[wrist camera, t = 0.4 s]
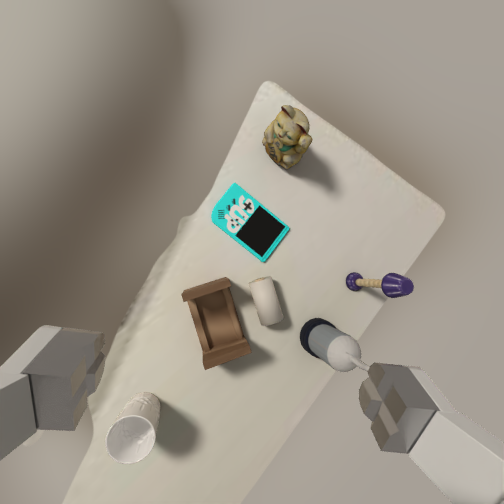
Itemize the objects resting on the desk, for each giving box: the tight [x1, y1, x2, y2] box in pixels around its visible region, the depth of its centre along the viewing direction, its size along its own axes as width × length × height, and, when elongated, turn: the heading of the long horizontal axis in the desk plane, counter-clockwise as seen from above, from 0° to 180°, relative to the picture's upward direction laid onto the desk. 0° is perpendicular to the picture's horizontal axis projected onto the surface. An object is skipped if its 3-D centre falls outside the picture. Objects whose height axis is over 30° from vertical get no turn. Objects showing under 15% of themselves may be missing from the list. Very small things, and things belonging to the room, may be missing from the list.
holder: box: [181, 277, 252, 370], centre depth 55 cm, size 14×9×8 cm, turn 17°
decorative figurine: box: [262, 105, 312, 169], centre depth 56 cm, size 10×8×15 cm
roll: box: [249, 277, 284, 326], centre depth 59 cm, size 10×5×5 cm, turn 17°
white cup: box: [105, 392, 161, 464], centre depth 51 cm, size 8×8×10 cm
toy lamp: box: [346, 272, 414, 298], centre depth 57 cm, size 5×5×17 cm
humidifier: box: [300, 318, 370, 372], centre depth 51 cm, size 8×8×25 cm
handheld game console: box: [211, 183, 289, 262], centre depth 61 cm, size 10×16×1 cm, turn 52°
